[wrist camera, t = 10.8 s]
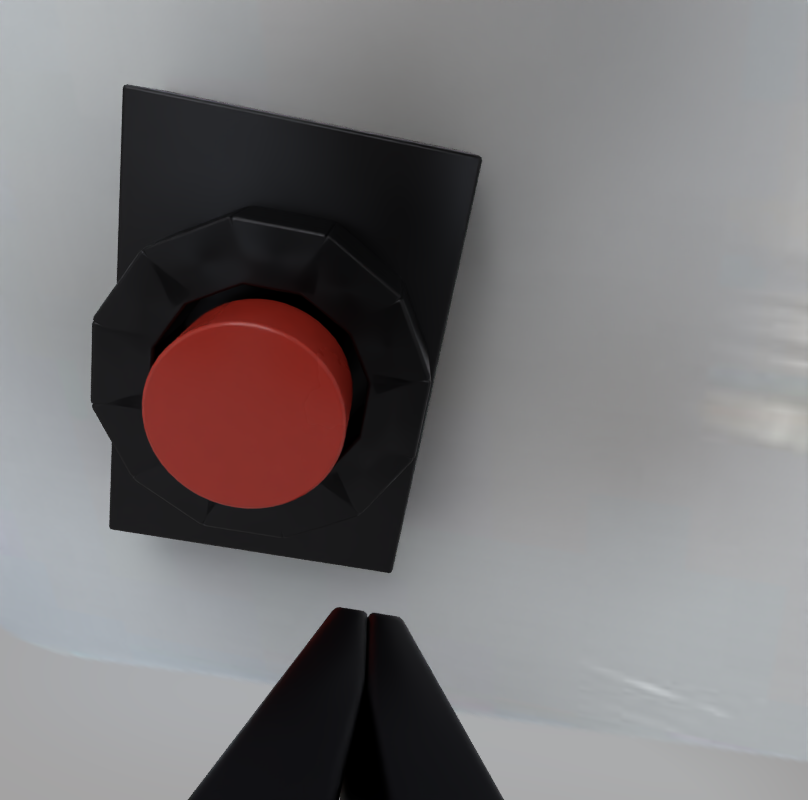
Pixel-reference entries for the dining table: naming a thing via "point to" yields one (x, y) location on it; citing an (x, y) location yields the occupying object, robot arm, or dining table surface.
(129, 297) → the switch block
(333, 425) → the button
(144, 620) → the dining table surface
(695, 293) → the dining table surface
